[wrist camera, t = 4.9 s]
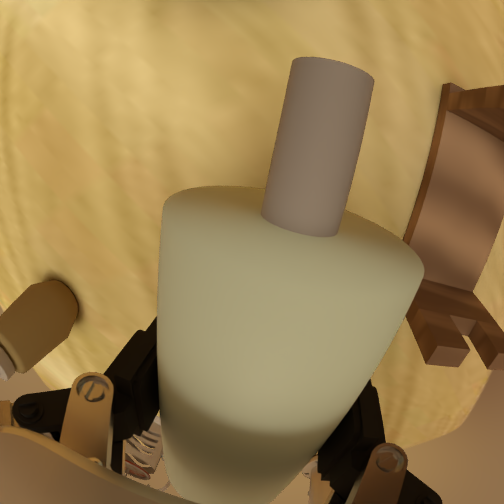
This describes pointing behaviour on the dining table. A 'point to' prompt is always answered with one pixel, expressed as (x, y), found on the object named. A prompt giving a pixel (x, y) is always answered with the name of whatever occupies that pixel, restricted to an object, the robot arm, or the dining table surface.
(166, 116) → the dining table surface
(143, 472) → the french press
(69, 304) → the squeeze bottle
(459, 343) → the holder
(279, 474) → the roll
